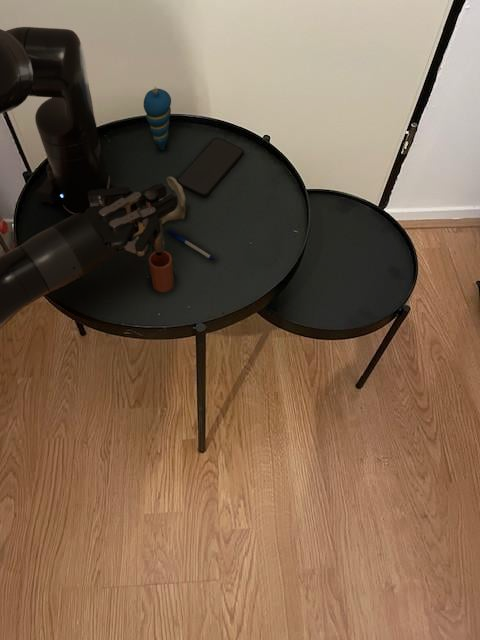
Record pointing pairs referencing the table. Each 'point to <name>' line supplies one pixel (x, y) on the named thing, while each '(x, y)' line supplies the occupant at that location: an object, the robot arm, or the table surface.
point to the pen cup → (161, 271)
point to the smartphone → (210, 167)
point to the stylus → (153, 198)
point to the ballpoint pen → (190, 244)
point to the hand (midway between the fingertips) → (169, 194)
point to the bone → (181, 208)
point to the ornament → (158, 114)
